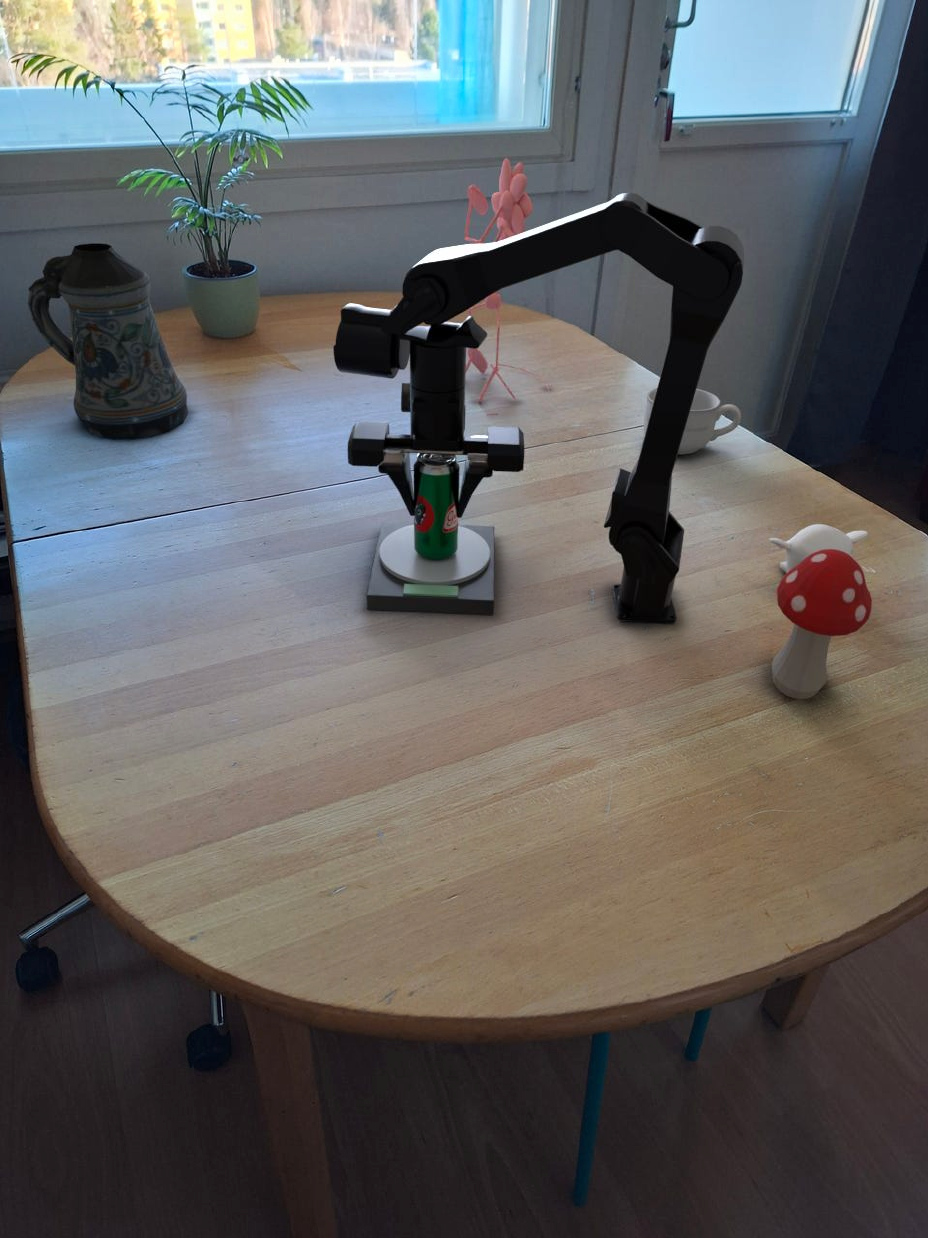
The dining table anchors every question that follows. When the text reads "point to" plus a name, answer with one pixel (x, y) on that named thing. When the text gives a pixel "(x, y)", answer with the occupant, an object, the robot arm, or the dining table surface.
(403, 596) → the kitchen scale
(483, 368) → the figurine
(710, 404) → the teacup
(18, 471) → the dining table surface
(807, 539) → the figurine
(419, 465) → the soda can
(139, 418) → the beer stein
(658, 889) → the dining table surface
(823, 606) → the decorative mushroom
